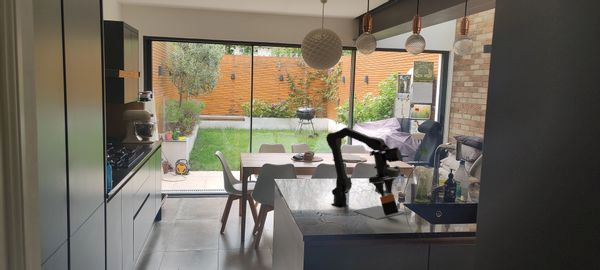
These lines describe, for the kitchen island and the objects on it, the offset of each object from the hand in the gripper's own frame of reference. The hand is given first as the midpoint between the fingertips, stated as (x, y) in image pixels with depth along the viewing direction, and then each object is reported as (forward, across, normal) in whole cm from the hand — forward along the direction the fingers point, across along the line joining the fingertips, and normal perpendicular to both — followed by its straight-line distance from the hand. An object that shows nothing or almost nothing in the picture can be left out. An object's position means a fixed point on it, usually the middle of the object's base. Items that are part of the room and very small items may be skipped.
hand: (386, 194), depth 215 cm
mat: (+9, +1, +7) cm, 12 cm away
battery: (+10, -3, -3) cm, 11 cm away
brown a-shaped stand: (+5, +44, +30) cm, 53 cm away
